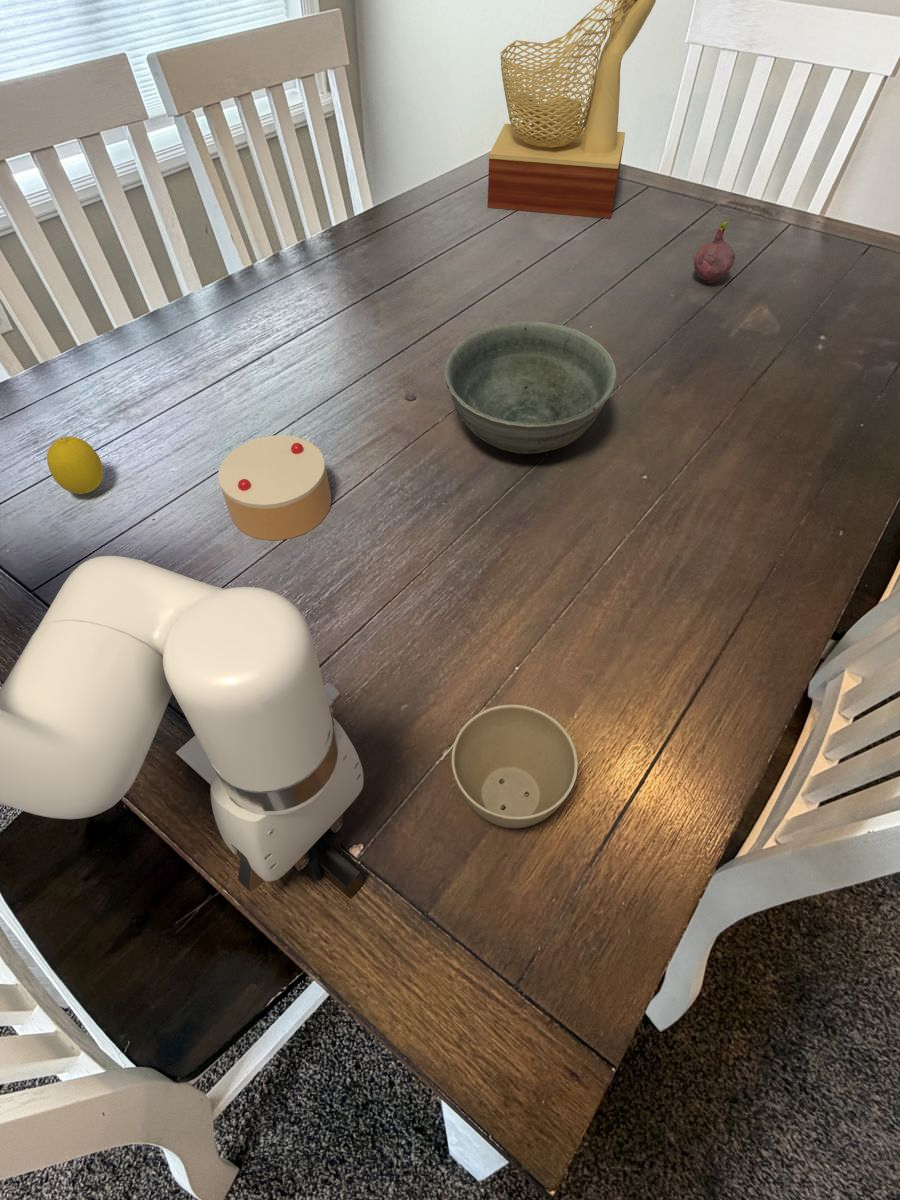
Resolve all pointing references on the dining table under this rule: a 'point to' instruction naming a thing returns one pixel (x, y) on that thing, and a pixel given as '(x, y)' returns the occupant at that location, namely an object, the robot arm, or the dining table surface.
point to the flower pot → (514, 765)
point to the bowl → (529, 384)
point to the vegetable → (714, 258)
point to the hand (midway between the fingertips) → (316, 855)
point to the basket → (565, 121)
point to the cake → (275, 487)
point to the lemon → (75, 465)
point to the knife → (327, 856)
